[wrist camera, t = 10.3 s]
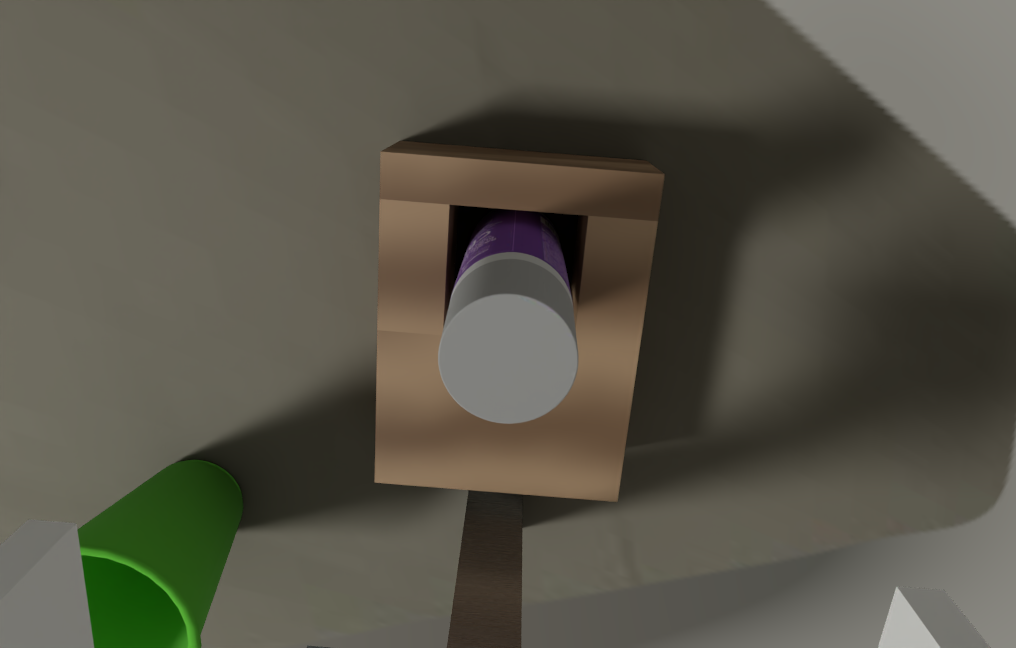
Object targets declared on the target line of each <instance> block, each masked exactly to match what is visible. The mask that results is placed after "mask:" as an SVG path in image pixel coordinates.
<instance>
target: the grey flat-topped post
mask: <svg viewBox="0 0 1016 648" xmlns="http://www.w3.org/2000/svg"><path fill="white" fill-rule="evenodd" d="M522 507H523V494H512V493H499V492H487V491H474V490H469V492H468V499H467V506H466V514H465V521H464V528H463V535H462V543H461V550H460V557H459V564H458V572H457V579H456V586H455V593H454V600H453V608H452V615H451V622H450V630H449V637H448V644H447V648H521V608H522ZM307 648H329V647H316V646H307Z"/></svg>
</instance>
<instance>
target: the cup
mask: <svg viewBox="0 0 1016 648" xmlns="http://www.w3.org/2000/svg"><path fill="white" fill-rule="evenodd" d="M242 512H243V499H242V493H241V491H240V488H239V485H238V484H237V482H236V481H235V479H234V478H233V477H232V476H231V475H230V474H229V473H228V472H227V471H226V470H224V469H223V468H221V467H219V466H218V465H216V464H213V463H210V462H208V461H202V460H186V461H181V462H177V463H174V464H171V465H170V466H168V467H166V468H165V469H163V470H162V471H160V472H159V473H157V474H156V475H155V476H153V477H152V478H150V479H149V480H147V481H146V482H145V483H143V484H142V485H140V486H139V487H137V488H136V489H135V490H133V491H132V492H130V493H129V494H127V495H126V496H125V497H123V498H122V499H120V500H119V501H118V502H116V503H115V504H113V505H112V506H110V507H109V508H108V509H106V510H105V511H103V512H102V513H100V514H99V515H98V516H96V517H95V518H93V519H92V520H90V521H89V522H88V523H86V524H85V525H83V526H82V527H81V528H79V529H78V530H77V531H78V538H79V545H80V552H81V559H82V566H83V573H84V580H85V587H86V594H87V601H88V608H89V615H90V622H91V629H92V636H93V643H94V648H201V638H200V634H201V632H202V629H203V626H204V623H205V620H206V617H207V614H208V612H209V609H210V606H211V603H212V600H213V597H214V594H215V592H216V589H217V586H218V583H219V580H220V577H221V574H222V572H223V569H224V566H225V563H226V560H227V557H228V554H229V552H230V549H231V546H232V543H233V540H234V537H235V534H236V532H237V529H238V526H239V523H240V520H241V517H242Z"/></svg>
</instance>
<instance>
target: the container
mask: <svg viewBox="0 0 1016 648" xmlns="http://www.w3.org/2000/svg"><path fill="white" fill-rule="evenodd" d="M438 365H439V371H440V375H441V378H442V381H443V383H444V385H445V387H446V389H447V390H448V392H449V393H450V395H451V396H452V397H453V399H454V400H455V401H456V402H457V403H458V404H459V405H460V406H461V407H463V408H464V409H465V410H467V411H468V412H470V413H471V414H473V415H475V416H477V417H479V418H482V419H484V420H487V421H491V422H496V423H503V424H513V423H522V422H527V421H530V420H534V419H536V418H539V417H541V416H543V415H545V414H546V413H548V412H550V411H551V410H552V409H554V408H555V407H556V406H557V405H558V404H559V403H560V402H561V401H562V400H563V399H564V398H565V397H566V395H567V394H568V392H569V391H570V389H571V387H572V385H573V383H574V381H575V378H576V374H577V370H578V347H577V338H576V329H575V320H574V311H573V301H572V296H571V291H570V286H569V281H568V276H567V271H566V266H565V261H564V256H563V251H562V246H561V242H560V238H559V235H558V233H557V230H556V228H555V227H554V225H553V224H552V222H551V221H550V220H549V219H548V218H547V217H546V216H545V215H544V214H542V213H541V212H535V211H523V210H510V209H498V208H497V209H495V210H493V211H491V212H489V213H488V214H487V215H485V216H484V217H483V218H482V219H481V220H480V222H479V223H478V224H477V226H476V227H475V229H474V231H473V233H472V236H471V238H470V241H469V244H468V247H467V250H466V253H465V256H464V259H463V262H462V265H461V268H460V271H459V274H458V277H457V280H456V282H455V285H454V288H453V291H452V295H451V299H450V304H449V308H448V312H447V316H446V320H445V324H444V328H443V332H442V336H441V341H440V345H439V351H438Z"/></svg>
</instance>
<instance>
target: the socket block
mask: <svg viewBox="0 0 1016 648" xmlns="http://www.w3.org/2000/svg"><path fill="white" fill-rule="evenodd" d="M664 177H665V174H664V173H662V172H661V171H660V170H658V169H657V168H656V167H654V166H653V165H652V164H650V163H649V162H648V161H645V160H633V159H620V158H608V157H595V156H583V155H571V154H558V153H546V152H533V151H521V150H508V149H496V148H484V147H471V146H459V145H446V144H434V143H421V142H409V141H399V142H397V143H395V144H393V145H392V146H390V147H388V148H386V149H384V150H383V151H381V161H380V215H379V270H378V324H377V379H376V433H375V483H386V484H398V485H411V486H424V487H436V488H449V489H461V490H474V491H487V492H499V493H512V494H524V495H537V496H549V497H562V498H575V499H587V500H600V501H612V502H617V501H618V494H619V487H620V480H621V474H622V467H623V460H624V453H625V446H626V439H627V432H628V425H629V418H630V412H631V405H632V398H633V391H634V384H635V377H636V370H637V363H638V356H639V350H640V343H641V336H642V329H643V322H644V315H645V308H646V301H647V294H648V287H649V281H650V274H651V267H652V260H653V253H654V246H655V239H656V232H657V225H658V219H659V212H660V205H661V198H662V191H663V184H664ZM459 205H460V206H473V207H485V208H498V209H510V210H523V211H535V212H548V213H560V214H572V215H578V224H577V234H576V243H575V252H574V261H573V270H572V280H571V289H570V291H571V296H572V301H573V311H574V320H575V329H576V338H577V347H578V370H577V374H576V378H575V381H574V383H573V385H572V387H571V389H570V391H569V392H568V394H567V395H566V397H565V398H564V399H563V400H562V401H561V402H560V403H559V404H558V405H557V406H556V407H555V408H554V409H552V410H551V411H550V412H548V413H546V414H545V415H543V416H541V417H539V418H536V419H534V420H530V421H527V422H522V423H513V424H503V423H496V422H491V421H487V420H484V419H482V418H479V417H477V416H475V415H473V414H471V413H470V412H468V411H467V410H465V409H464V408H463V407H461V406H460V405H459V404H458V403H457V402H456V401H455V400H454V399H453V397H452V396H451V395H450V393H449V392H448V390H447V389H446V387H445V385H444V383H443V381H442V378H441V375H440V371H439V365H438V351H439V345H440V341H441V336H442V332H443V328H444V324H445V320H446V316H447V312H448V308H449V304H450V299H451V295H452V291H453V288H454V280H455V262H456V243H457V225H458V206H459Z"/></svg>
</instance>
